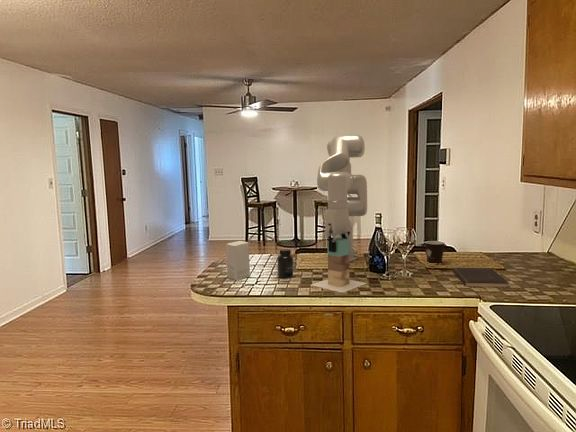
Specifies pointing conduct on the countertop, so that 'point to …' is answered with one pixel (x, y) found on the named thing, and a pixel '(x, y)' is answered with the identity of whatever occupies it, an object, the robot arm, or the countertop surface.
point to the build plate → (342, 289)
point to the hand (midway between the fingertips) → (338, 249)
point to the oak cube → (338, 278)
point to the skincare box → (238, 260)
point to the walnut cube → (338, 263)
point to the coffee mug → (434, 251)
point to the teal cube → (340, 247)
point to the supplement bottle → (285, 264)
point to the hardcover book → (480, 277)
